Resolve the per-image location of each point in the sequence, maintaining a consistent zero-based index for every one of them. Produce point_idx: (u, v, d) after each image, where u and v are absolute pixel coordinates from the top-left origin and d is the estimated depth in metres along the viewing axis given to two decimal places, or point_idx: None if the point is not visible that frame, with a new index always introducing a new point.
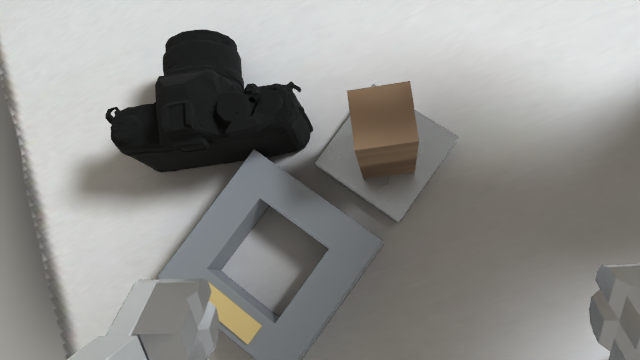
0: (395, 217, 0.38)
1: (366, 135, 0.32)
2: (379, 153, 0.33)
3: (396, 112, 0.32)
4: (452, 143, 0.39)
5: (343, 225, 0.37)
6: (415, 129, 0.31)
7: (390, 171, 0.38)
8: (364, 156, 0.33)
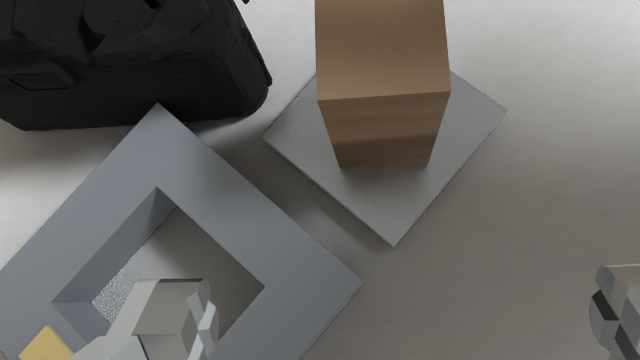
0: (389, 238, 0.22)
1: (343, 71, 0.16)
2: (368, 114, 0.17)
3: (408, 30, 0.16)
4: (496, 120, 0.23)
5: (294, 245, 0.21)
6: (445, 67, 0.15)
7: (386, 158, 0.22)
8: (338, 119, 0.17)
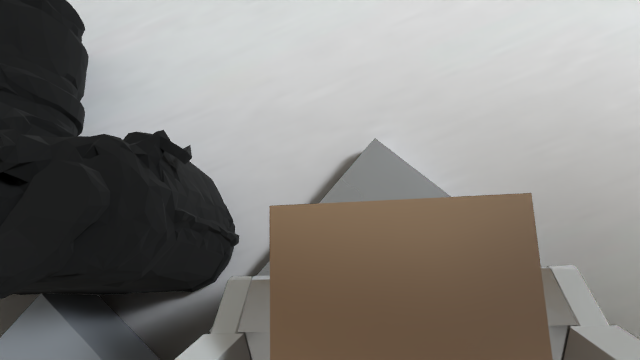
0: None
1: None
2: None
3: (467, 327, 0.07)
4: None
5: None
6: None
7: None
8: None
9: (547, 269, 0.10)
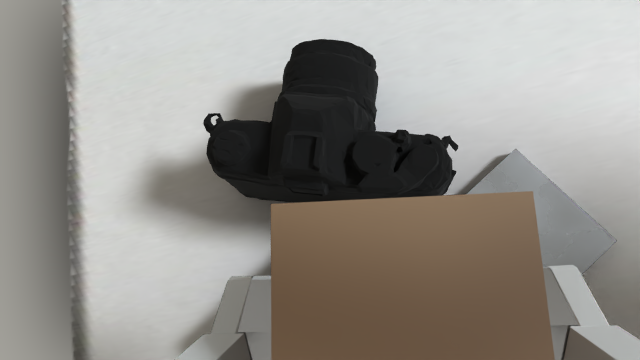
0: None
1: None
2: None
3: (469, 326, 0.07)
4: (607, 247, 0.30)
5: None
6: None
7: None
8: None
9: (547, 269, 0.10)
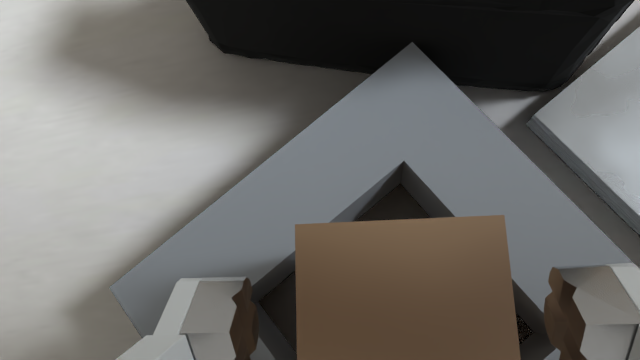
0: None
1: None
2: None
3: (453, 321, 0.09)
4: None
5: None
6: None
7: None
8: None
9: (607, 267, 0.10)
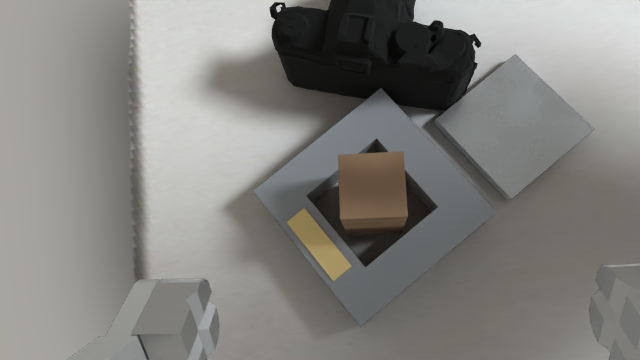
0: (509, 194, 0.36)
1: (353, 204, 0.30)
2: (366, 222, 0.32)
3: (386, 182, 0.30)
4: (586, 134, 0.37)
5: (458, 186, 0.35)
6: (405, 203, 0.30)
7: (376, 232, 0.37)
8: (350, 223, 0.32)
9: None
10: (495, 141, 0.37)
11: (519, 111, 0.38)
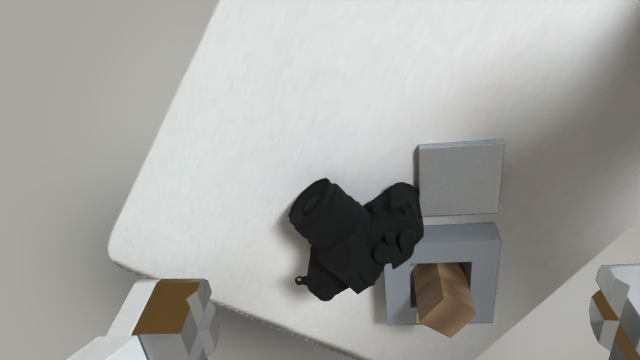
0: (494, 212, 0.53)
1: (448, 329, 0.52)
2: None
3: (452, 313, 0.51)
4: (502, 150, 0.49)
5: (471, 246, 0.53)
6: (469, 312, 0.51)
7: None
8: None
9: None
10: (460, 197, 0.52)
11: (455, 173, 0.50)
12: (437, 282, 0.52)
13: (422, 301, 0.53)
